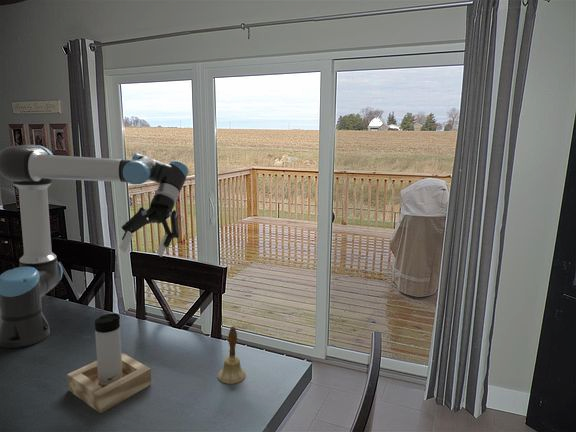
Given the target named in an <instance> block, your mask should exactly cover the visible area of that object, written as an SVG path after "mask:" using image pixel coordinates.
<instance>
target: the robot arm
mask: <svg viewBox="0 0 576 432" xmlns="http://www.w3.org/2000/svg"><path fill="white" fill-rule="evenodd" d="M0 175H1V176H2V177H3V178H5V179H6V180H9V181H11V182H12V185H13V186H14V187H16V188H17V189H18V198H19V208H20V209H19V211H20V221H21V223H20V224H21V231H22V243H23V244H22V245H23V255H22V256H21V257H20V258H19V267H14V268H12V269H8V270H5V271H4V272H3V273H1V274H0V318H1V320H0V347H2V348H6V349H17V348H25V347H28V346H32V345H35V344H37V343H40V342H41V341H43V340H45V339H46V338H47V337H48V336H50V333H51V331H50V324H49V322H48V321H47V319H46V316H45V315H44V313H43V306H42V297H44V296H45V295H46V294H47V293H49V292H50V291H52V290H53V289H54V288H55V287H57V285H58V284H59V282H60V281H61V280H62V278H63V274H64V272H63V270H64V269H63V266H62V265H61V262H58V258H57V255H56V254H55V253H54V252H53V251H52V238H51V224H50V211H49V210H50V208H49V196H48V193H49V192H48V189H49V187H50V186H51V185H52V183H53V180H66V181H67V180H69V181H70V180H71V181H92V182H93V181H95V182H111V183H112V182H114V183H116V182H118V183H129V184H131V185H142V184H145V183H146V182H147V181H152V182H154V183H157V184H159V185H158V187H157V188H156V191H155V193H154V195H153V197H152V200H151V202H150V206H149V208H147V209H145V208H144V207H143V206H141V207H140V208H139V210H138V211H137V212H136V213H135V214H134V215H133V216H131V217H130V219H128V220H127V222H125V223H124V224H123V225H122V226H121V229H122V231H123V232H124V234H123V236H122V237H121V240H122V242H121V243H120V245H119V249H120V251H122V252H123V253H126V252H127V250H128V248H129V246H130V243H131V241H132V238H133V237H134V235H133V234H134V233H135V232H137V231H138V230H140V229H141V228H143V227H145V226H146V225H148V224H150V223H152V224H159V225H160V224H162V226H163V228H164V231H165V234H164V235H163V236H162V239H161V242H160V244H159V246H158V249H157V251H156V253H157V255H158V256H159V257H162V258H163V256H164V254H165V251H166V249H167V248H168V247H170V244H171V242H172V240H173V239H174V238H175V239H179V237H180V234H179V226H178V225H179V224H178V218H179V214H178V212H177V211H176V210H173V209H174V207H175V203H176V202H177V200H178V198H179V195H180V193H181V190H182V189H183V186H184V184H185V182H186V180H187V177H188V175H189V168H188V166H187V164H185V163H183V162H181V160H172V161H170V162H169V163H168V164H167V163H165V162H161V161H158V160H157V159H154V158H152V157H149V156H147V155H144V154H140V153H135V154H133V156H132V157H131V159H127V158H125V159H123V158H106V157H88V156H73V155H72V156H71V155H54V154H53V152H51V150H49V149H48V148H46V147H45V146H43V145H40V144H32V143H30V144H21V145H12V146H11V145H10V146H7V147H5V148H2V149H1V150H0ZM169 218H170V221H171V228H170V226H169V224H168V221H167V219H169ZM171 230H172V231H171Z"/></svg>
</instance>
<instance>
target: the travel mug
mask: <svg viewBox="0 0 576 432" xmlns="http://www.w3.org/2000/svg"><path fill="white" fill-rule="evenodd" d="M120 319H121V316H120V314H118V313H107V314H103V315H101V316H99V317H97V319H95V320H94V330H95V331H94V332H95V333H94V335H95V336H94V338H95V348H96V349H95V350H96V361H97V369H98V384H99V385H100V386H101V387H105V386H107V385H109V384H111V383H113V382H115V381H117V380H119V379H121V378H123V376H122V356H121V352H122V338H121V335H122V334H121V324H120Z"/></svg>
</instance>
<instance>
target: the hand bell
mask: <svg viewBox="0 0 576 432" xmlns="http://www.w3.org/2000/svg"><path fill="white" fill-rule="evenodd" d="M227 336H228V338H227V339H228V341H227V342H228V344H229V345H228V346H229V354H228V355H229V356H227V357H226V358H225V359H224V362H223V366H222V369H220V370H219V372H218V374H217V379H218V380H219V381H220V382H221V383H224V384H225V385H226V384H227V385H235V383H236V384H239V383H241V382H242V380H243V379H244V380H245V379H246V376H245V375H246V371H244V369H243V368H242V367H241V362H240V358H239V357H238V356H237V355H236V345H237V341H238V333H237V329H236V327H235V326H231V327H230V329H229V332H228V335H227ZM244 380H243V381H244ZM238 382H239V383H238Z"/></svg>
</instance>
